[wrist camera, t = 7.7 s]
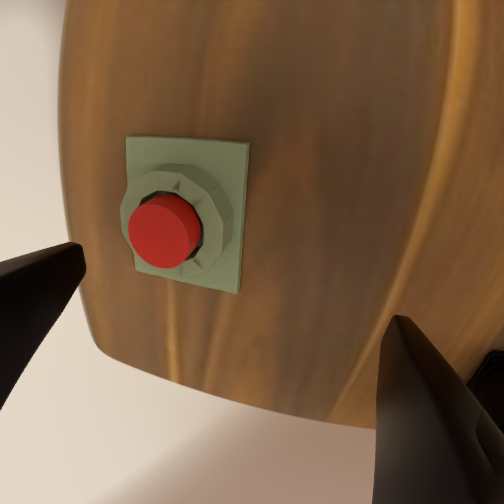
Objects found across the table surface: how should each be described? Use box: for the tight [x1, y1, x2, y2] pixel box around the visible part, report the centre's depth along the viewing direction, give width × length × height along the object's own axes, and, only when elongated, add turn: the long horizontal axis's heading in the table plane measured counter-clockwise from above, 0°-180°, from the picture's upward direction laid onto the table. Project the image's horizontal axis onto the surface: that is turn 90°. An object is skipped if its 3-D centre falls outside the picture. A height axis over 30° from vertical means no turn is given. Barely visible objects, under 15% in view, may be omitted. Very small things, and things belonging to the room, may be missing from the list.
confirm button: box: [128, 194, 201, 269], centre depth 18 cm, size 4×4×2 cm
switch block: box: [120, 135, 250, 294], centre depth 19 cm, size 10×8×2 cm
